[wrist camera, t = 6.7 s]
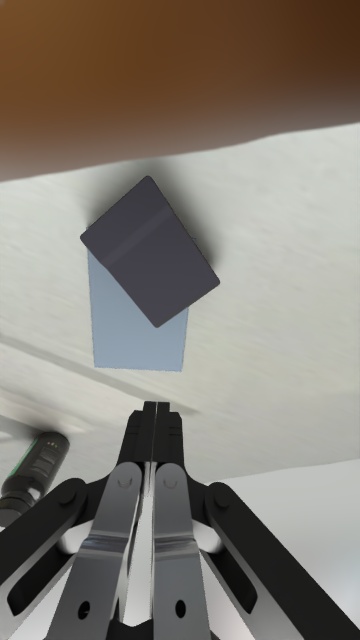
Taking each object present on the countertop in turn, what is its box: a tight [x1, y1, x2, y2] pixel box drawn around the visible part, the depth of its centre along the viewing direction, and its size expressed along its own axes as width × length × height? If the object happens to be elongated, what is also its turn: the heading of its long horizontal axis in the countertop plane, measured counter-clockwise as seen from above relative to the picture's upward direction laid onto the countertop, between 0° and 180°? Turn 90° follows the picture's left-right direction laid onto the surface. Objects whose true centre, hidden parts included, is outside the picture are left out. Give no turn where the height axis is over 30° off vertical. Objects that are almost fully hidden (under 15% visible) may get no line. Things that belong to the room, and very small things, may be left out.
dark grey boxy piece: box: [80, 176, 220, 328], centre depth 27 cm, size 11×4×15 cm
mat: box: [86, 228, 196, 372], centre depth 31 cm, size 15×22×1 cm
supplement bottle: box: [0, 432, 69, 528], centre depth 35 cm, size 7×7×12 cm
